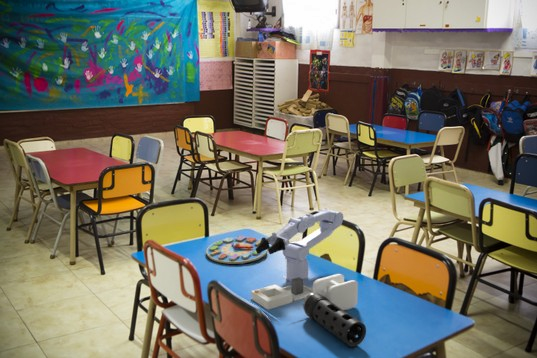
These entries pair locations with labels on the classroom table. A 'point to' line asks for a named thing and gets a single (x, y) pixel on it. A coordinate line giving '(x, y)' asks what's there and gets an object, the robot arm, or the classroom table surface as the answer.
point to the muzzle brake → (334, 319)
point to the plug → (297, 286)
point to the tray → (300, 296)
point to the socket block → (271, 296)
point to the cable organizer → (337, 290)
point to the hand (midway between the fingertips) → (263, 251)
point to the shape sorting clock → (235, 250)
